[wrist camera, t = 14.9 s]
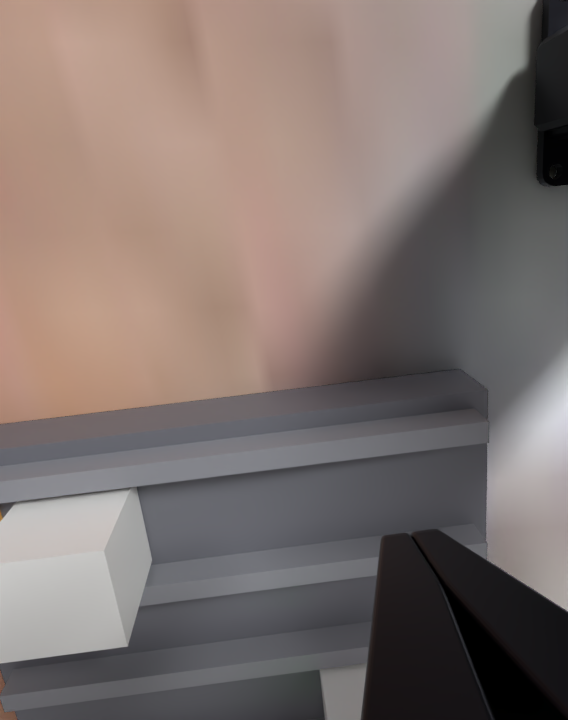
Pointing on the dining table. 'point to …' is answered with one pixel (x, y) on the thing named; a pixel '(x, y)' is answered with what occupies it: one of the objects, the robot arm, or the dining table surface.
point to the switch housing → (251, 537)
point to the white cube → (71, 573)
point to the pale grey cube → (343, 691)
